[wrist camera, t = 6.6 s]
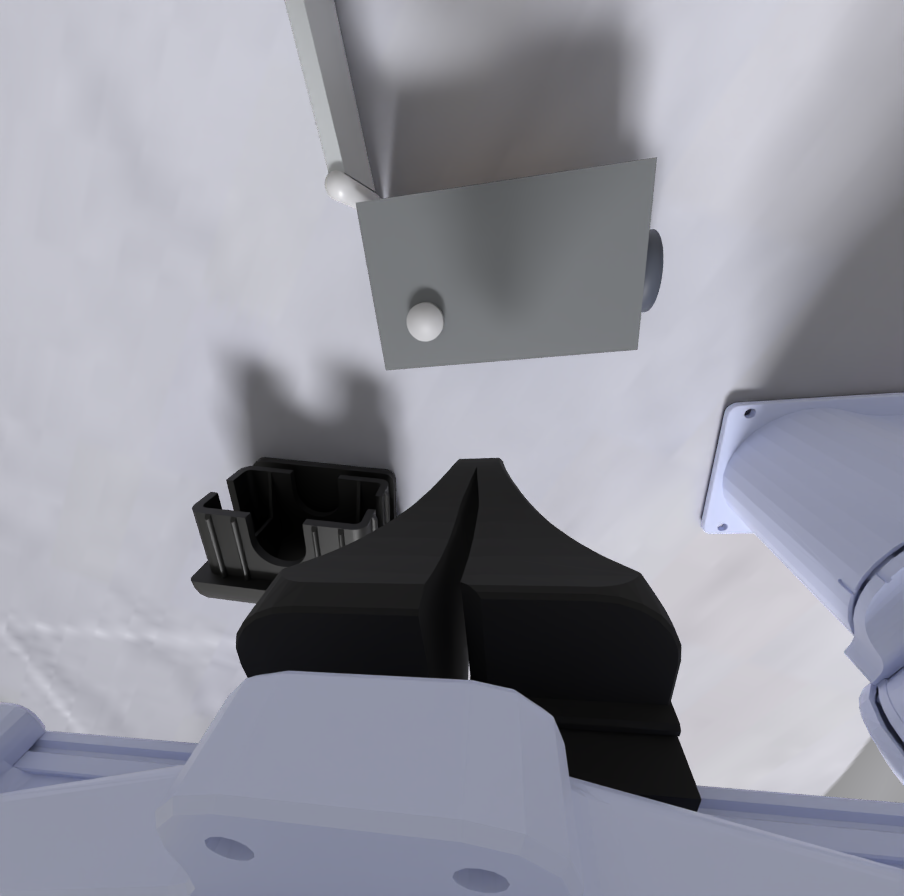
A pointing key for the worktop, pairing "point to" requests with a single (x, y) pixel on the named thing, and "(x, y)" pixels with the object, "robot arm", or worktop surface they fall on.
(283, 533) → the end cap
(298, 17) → the side cover
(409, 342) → the camera case
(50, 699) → the worktop surface
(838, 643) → the worktop surface
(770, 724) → the worktop surface
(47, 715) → the worktop surface
